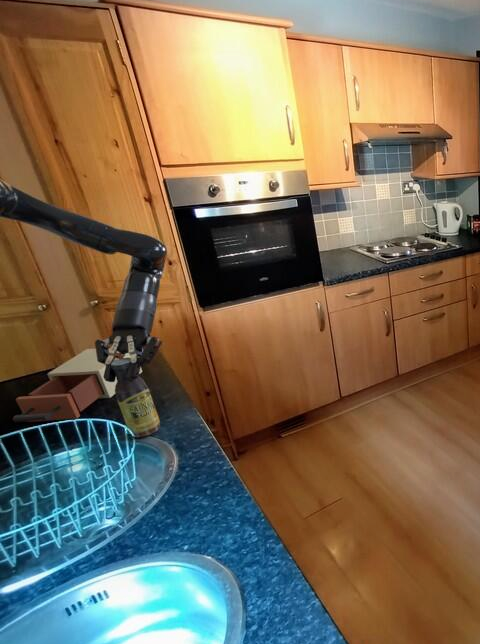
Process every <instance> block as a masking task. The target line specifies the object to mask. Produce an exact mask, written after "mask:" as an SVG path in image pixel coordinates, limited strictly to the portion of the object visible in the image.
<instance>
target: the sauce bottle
mask: <svg viewBox="0 0 480 644" xmlns="http://www.w3.org/2000/svg"><path fill="white" fill-rule="evenodd" d="M129 364H132V363H131V358H122V359H118V360H115V361H113V362H112V363H111V368H112V369H113V370H114V372H115V375H116V379H117V384H116V386H115V394H114V395H115V396H116V398H117V403H118V406H119V409H120V412H121V415H122V417H123V421H124V422H125V426H126V427H127V429H128V428H129V429H130V430H132V431H133V433H134V434H135V436H136V438H135V439H140V438H139V437H141V438H145V437H149V436H151V435H153V434H156V432H158V431H159V430H160V429H161V424H160V418H159V414H158V411H157V409H156V406H155V404H154V400H153V397H152V395H151V391H150V389H149V387H148V385H147V383H146V382H145V379H143V378H142V377H141V376H140V375H139V376H138V378H136V380H135V381H130V380H127V379H126V376H127V372H128V368H129ZM137 437H138V438H137Z"/></svg>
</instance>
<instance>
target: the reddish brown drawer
mask: <svg viewBox="0 0 480 644" xmlns="http://www.w3.org/2000/svg"><path fill="white" fill-rule="evenodd" d="M103 394H104V390H103V388H102V386H101V383H100V381H99V379H98V376H97V374H85V375H67V376H56V377H54V378H53V379H51V380H50V379H49V380H48V381H46V382H45V383H43V384H42V385H40V386H39V387H37V388H35V389H34V390H33V391H31V392H29V393H28V396H18V397H17V398H16V399H15V402H16V403H17V405H18V407H19V409H20V410H21V414H16V415H14V416H13V418H12V420H13V422H15V423H20V422H27V423H32V422H47V421H61V420H63V421H64V420H76V419H78V418H80V417H81V414H80V413H82V412H83V411H84V410H85V409H86V408H88V407H89V406H90V405H92V404H93V403H94V402H95V401H97V400H99V399H98V398H99V397H100V396H102V395H103Z"/></svg>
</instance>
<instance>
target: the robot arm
mask: <svg viewBox="0 0 480 644" xmlns="http://www.w3.org/2000/svg"><path fill="white" fill-rule="evenodd" d="M0 218H3V219H7V220H12V221H17V222H20V223H24V224H27V225H30V226H33V227H36V228H39V229H42V230H44V231H47V232H48V233H51V234H53V235H55V236H57V237H60V238H62V239H65V240H66V241H69V242H72V243H74V244H77V245H80V246H82V247H85V248H87V249H91V250H93V251H96V252H99V253H102V254H104V255H105V254H106V255H116V254H117V253H120V254H124V255H127V256H130V257H131V258H130V264H129V269H128V274H127V275H126V277H125V279H124V282H123V285H122V290H121V294H120V296H119V298H118V300H117V304H116V309H115V313H114V317H113V321H112V324H111V329H112V332H111V334H110V335H109V337H108V338H106V339H96V340H94V346H95V349H96V354H97V361H98V362H100V363H103V364H105V365H106V368H105V372H104V376H103V377H104V379H105V381H108V382H114V381H115V378H116V375H115V372H114V370H113V369H112V368H111V363H112V362H113V361H115V360H118V359H122V358H124V356H125V354H126V353H129V354H130V358H131V363H132V364H129V368H128V372H127V376H126V379H127V380H130V381H135V380H136V378H138V376H139V377H140V374H139V372H140V367H141V368H142V366H143V364H146V363H147V364H150V363H151V362H152V361H153V359H154V358H155V356H156V354H157V353H158V351H159V349H160V347H161V346H162V344H163V341H162V340H161V339H159V338H158V337H155V336H151V333H152V331H153V327H154V322H155V317H156V312H157V307H158V297H159V293H160V286H161V279H162V275H163V272H164V269H165V265H166V260H167V256H168V255H167V253H168V249H167V246H166V245H165V244H164V243H163V241H161V240H159V238H156V237H154V236H152V235H148V234H145V233H142V232H136V231H132V230H127V229H120V228H117V227H116V226H113V225H109V224H108V223H105V222H101V221H99V220H97V219H94V218H91V217H88V216H86V215H83V214H79V213H77V212H74V211H70V210H67V209H64V208H61V207H58V206H56V205H53V204H51V203H48V202H46V201H44V200H42V199H39V198H36V197H34V196H32V195H30V194H28V193H26V192H24V191H22V190H21V189H19V188H16V187H15V186H14V185H11V184H9V183H8V182H6V181H5V180H3V179H2V178H0ZM144 347H145V348H144ZM109 348H111V349H110V350H109ZM117 351H118V352H119V353H117Z"/></svg>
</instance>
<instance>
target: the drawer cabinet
mask: <svg viewBox="0 0 480 644" xmlns="http://www.w3.org/2000/svg"><path fill="white" fill-rule="evenodd" d="M110 349H111V347H110V348H109V350H110ZM117 353H119V352H118V351H117ZM124 358H130V354H129V353H126V354H125V356H124ZM105 368H106V365H105V364H103V363H100V362H98V361H97V354H96V348H86V349H85V350H83V351H81V352H80V353H78V354H76V355H75V356H73V357H72V358H70V359H69V360H67V361H65V362H63V363H62V364H61V365H59V366H58V367H56V368H54V369H52V370H51V371H49V372H48V373H46V374H47V376H48V379H49V381H50V380H51V379H53V378H54V377H56V376H67V375H85V374H97V376H98V379H99V381H100V383H101V386H102V388H103V390H104V394H103V395H102V396H100V397H99V398H98V399H97V400H100V399H111V398H112V397H113V396H114V395H116V394H115V386H116V384H117V379H116V378H115V381H114V382H108V381H105V379H104V377H103V376H104V372H105ZM142 373H143V369H142V366H141V367H140V372H139V375H140V374H142Z"/></svg>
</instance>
